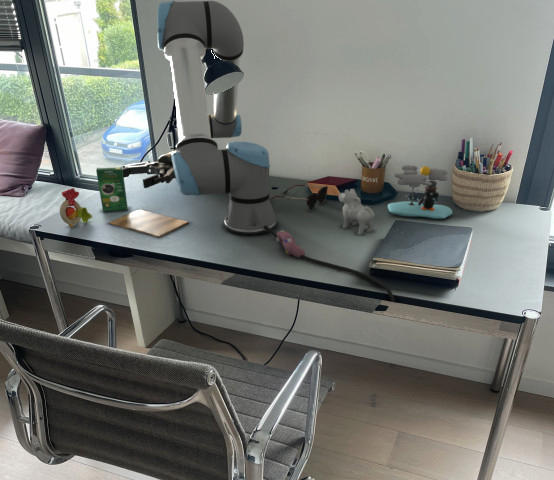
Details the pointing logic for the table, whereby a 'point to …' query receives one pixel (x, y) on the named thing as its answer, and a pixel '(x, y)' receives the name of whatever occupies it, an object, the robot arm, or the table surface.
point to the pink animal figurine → (289, 244)
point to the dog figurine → (356, 211)
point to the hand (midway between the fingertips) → (128, 180)
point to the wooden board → (149, 223)
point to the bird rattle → (70, 213)
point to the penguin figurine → (430, 193)
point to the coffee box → (112, 189)
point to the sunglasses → (311, 196)
